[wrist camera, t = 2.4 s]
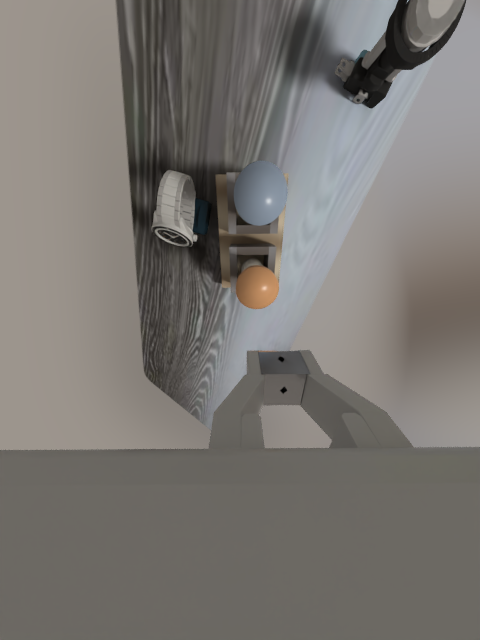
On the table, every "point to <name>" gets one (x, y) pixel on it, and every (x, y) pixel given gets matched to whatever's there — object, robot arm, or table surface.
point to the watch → (179, 211)
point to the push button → (401, 47)
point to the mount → (244, 235)
